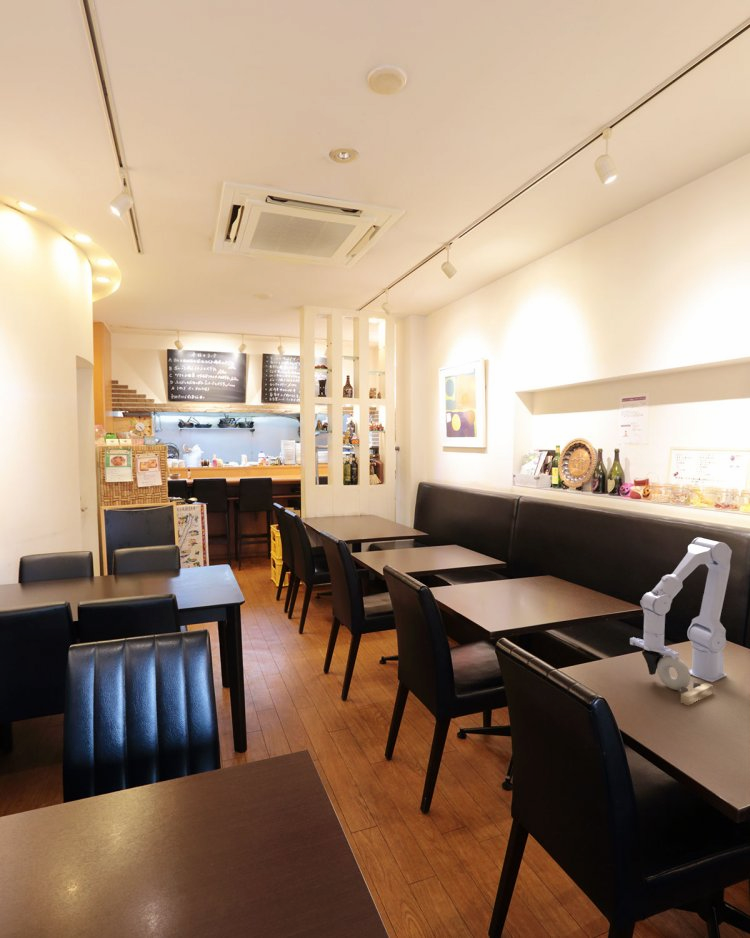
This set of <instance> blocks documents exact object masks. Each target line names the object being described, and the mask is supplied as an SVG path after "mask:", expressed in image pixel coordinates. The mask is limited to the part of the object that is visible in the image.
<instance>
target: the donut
mask: <svg viewBox="0 0 750 938" xmlns="http://www.w3.org/2000/svg"><path fill="white" fill-rule="evenodd" d="M670 668H673V669H674V670H675V671H676V673H677V676H676V677H673V675H671V673H670ZM689 670H690V669H689V668H688V666H687V664H686V663H685V662H684V661H683V660H682V659H681V658H679V657H678V658H676V659H673V658H672V656H663V657H662V658H661V659H660V660H659V662H658V664H657V669H656V673H657V675H658V677H659V679H660V681H661V682H662V683H663V685H665V686H666V687H667V688H669V689H671V690H674V691H681V687H685V688H688V686H689V684H690V681H691V675H690V672H689Z"/></svg>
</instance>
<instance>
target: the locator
mask: <svg viewBox="0 0 750 938" xmlns="http://www.w3.org/2000/svg"><path fill="white" fill-rule="evenodd" d="M692 685H693V686H692V687H693V688H692V689H689V688H688V687H686V688H685V687H681V690H680V704H682V703H684V704H683V705H685V704H686V705H685V706H687V705H688V706H690V705H692V704H694V702H695V703H696V701H697V702H699V701H701V700H703V699H705V698H706V697H708V696H711V695H713V693H714V685H713V684H710V683H708V682H705V683H702V684H701V682H700V681H696V680H695V681H693V684H692ZM698 700H699V701H698ZM689 704H690V705H689Z"/></svg>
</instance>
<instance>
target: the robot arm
mask: <svg viewBox="0 0 750 938" xmlns="http://www.w3.org/2000/svg"><path fill="white" fill-rule="evenodd" d="M732 553H733V550H732V549H731V548H730V547H729V545H728V544H727V543H725V542H722V541H716V540H711V539H707V538H703V537H701V536H699V537H696V538H694V539H693V540H692V541H691V543H690V544H688V546H687V553H685V556H684V557H683V558H682V560H681V561H680V562H679V564H678V565H677V567H676V568H675V569H674V571H673V572H671V574H665V575H663V576H662V577H661V580H660V581H659V582H658V583H657V584H656V585H655V587H654V588H653V589H652V590H651V591H649V592H646V593H645V594H643V596H642V598H641V600H640V601H639V603H640V606H641V607H642V609H643V610H642V611H643V639H641V638H638V637H637V638H636V637H634V636H633V637H630V638H629V644H630V645H631V646H637V647H639V648H642V649H643V650H641V654H642V656H643V657H644V661H645V662H646V665H647V668H648V674H649V675H651V676H653V675H655V674H656V673H657V664H658V662H659V660H660V659H661V658H662V657H664V656H672V658H673V659H676V658H679V656H680V655H679V652H678V651H675V650H673V649H671V648H669V647H667V646H665V629H666V628H665V624H666V614H667V613H668V612H669V611H670V609H671V605H672V603H673V599H674V598H675V597H676V596H677V594H678V593H679V592H680V591H681V589H683V587H684V586H683V581H684V580H685V579H686V578H687V577H688V576H689V575H690V574H691V573H693V571H695V569H696V568H698V566H700V565H705V566H706V567H707V568H708V572H707V576H706V581H705V587H704V591H703V592H704V593H703V595H702V601H701V607H700V610H699V611H700V612H699V615H698V616H696V617H694V618H692V619H691V623H690V626H689V627H688V629H687V632H686V633H687V638H688V639H689V641H690V644H691V645H692V659H691V662H692V663H691V669H689V672H690V676H693V677H696V678H698V679H700V680H703V681H706V682H709V683H713V682H716V681H718V680H720V679H722V678H725V677H727V673H724V664H725V663H724V662H725V661H724V659H725V656H724V652H723V650H724V649H725V647H726V644H727V639H726V633H727V630H726V628H725V627H724V626H723V623H721V613H722V609H723V606H724V605H723V604H724V600H725V595H726V590H727V585H728V580H729V576H730V570H731V558H732Z"/></svg>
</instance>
